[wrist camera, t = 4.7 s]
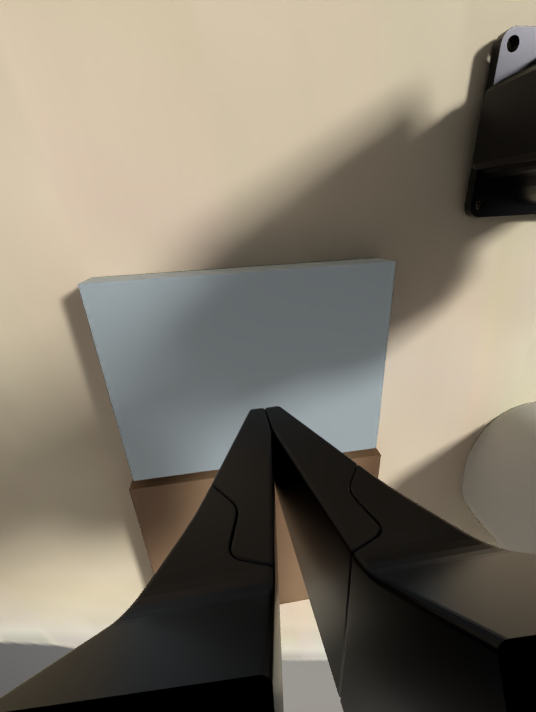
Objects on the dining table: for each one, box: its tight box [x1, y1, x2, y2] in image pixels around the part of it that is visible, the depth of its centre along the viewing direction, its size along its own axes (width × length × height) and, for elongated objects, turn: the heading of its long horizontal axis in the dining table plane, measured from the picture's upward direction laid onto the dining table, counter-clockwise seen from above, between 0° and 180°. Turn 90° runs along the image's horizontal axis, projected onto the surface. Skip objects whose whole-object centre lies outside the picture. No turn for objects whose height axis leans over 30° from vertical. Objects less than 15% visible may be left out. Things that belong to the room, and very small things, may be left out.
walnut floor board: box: [129, 448, 381, 604], centre depth 20 cm, size 14×12×2 cm
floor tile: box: [78, 258, 396, 481], centre depth 16 cm, size 13×10×2 cm
